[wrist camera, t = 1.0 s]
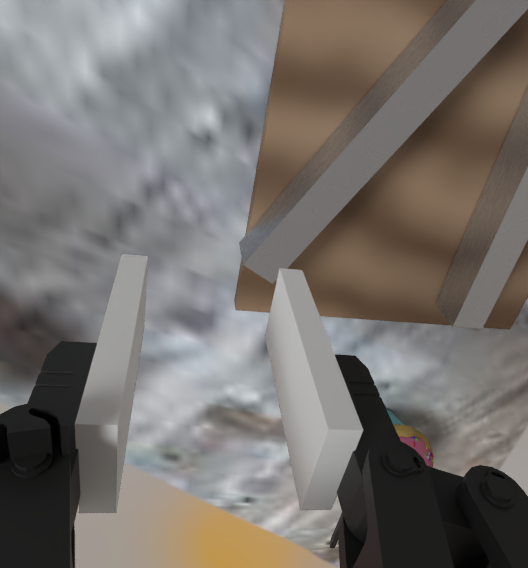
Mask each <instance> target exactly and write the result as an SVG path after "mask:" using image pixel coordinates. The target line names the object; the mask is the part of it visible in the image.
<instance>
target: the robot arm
mask: <svg viewBox="0 0 528 568" xmlns="http://www.w3.org/2000/svg"><path fill="white" fill-rule="evenodd" d="M147 262H148V256H139V255H128V254H122V256H121V259H120V263H119V266H118V270H117V274H116V277H115V281H114V284H113V288H112V292H111V295H110V299H109V302H108V306H107V310H106V313H105V317H104V320H103V324H102V328H101V331H100V335H99V338H98V342H97V343H85V342H66V341H62V342H60V343H59V344H58V345H57V346H56V347H55V348H54V349H53V350H52V351H51V352H50V353H48V354H47V357H46V359H45V362H44V364H43V366H42V369H41V373H40V374H39V376H38V379H37V381H36V386H35V387H34V389H33V391H32V394H31V396H30V399H29V401H28V403H27V404H24V405H20V406H16V407H13V408H11V409H9V410H8V411H6V412H4V413H2V414H0V568H75V530H74V521H75V517H76V512H77V508H78V503H79V513H116V511H117V504H118V498H119V491H120V484H121V478H122V471H123V465H124V458H125V451H126V445H127V438H128V431H129V425H130V418H131V412H132V405H133V398H134V392H135V385H136V379H137V372H138V365H139V359H140V352H141V345H142V339H143V332H144V321H145V301H146V282H147ZM265 338H266V342H267V347H268V352H269V357H270V362H271V367H272V372H273V377H274V382H275V387H276V392H277V397H278V402H279V407H280V412H281V417H282V422H283V427H284V432H285V436H286V441H287V446H288V451H289V456H290V461H291V466H292V471H293V476H294V481H295V486H296V491H297V496H298V501H299V506H300V510H331V509H332V507H333V504H334V502H335V499H336V497H337V495H338V498H339V502H340V505H341V509H342V514H341V516H340V519H339V521H338V523H337V526H336V528H335V530H334V533H333V535H332V537H331V542H330V548H335V546H336V543H337V541H338V542H339V559H340V568H528V496H527V495H526V494H525V492H524V491H523V490H522V488H521V487H520V486H519V485H518V484H517V483H516V482H515V481H514V480H513V479H512V478H510V477H509V476H508V475H506V474H505V473H503V472H502V471H499V470H497V469H495V468H493V467H488V466H482V465H479V466H475V467H471V469H470V470H469V471H468V472H467V473H466V475H465V476H464V477H461V476H458V475H454V474H451V473H448V472H444V471H441V470H438V469H435V468H432V467H430V466H427V465H426V463H425V461H424V459H423V458H422V456H421V455H420V454H419V453H418V452H417V451H416V450H415V449H414V448H412V447H410V446H409V445H407V444H406V443H404V442H401V440H400V438H399V436H398V434H397V432H396V429H395V427H394V425H393V423H392V421H391V418H390V416H389V414H388V412H387V410H386V407H385V405H384V403H383V401H382V399H381V397H379V395H380V394H379V392H378V390H377V388H376V386H374V381H373V379H372V377H371V375H370V372H369V370H368V368H367V367H366V366H365V365H364V364H363V363H362V362H361V361H360V360H359V359H358V358H357V357H356V356H351V355H334V352H333V349H332V347H331V344H330V341H329V339H328V336H327V334H326V331H325V328H324V326H323V323H322V320H321V318H320V315H319V313H318V310H317V307H316V305H315V302H314V300H313V297H312V294H311V292H310V289H309V286H308V284H307V281H306V279H305V276H304V273H303V271H302V270H296V269H284V268H279V273H278V278H277V282H276V287H275V291H274V296H273V301H272V305H271V310H270V314H269V319H268V324H267V328H266V333H265Z"/></svg>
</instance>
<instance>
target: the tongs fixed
mask: <svg viewBox="0 0 528 568" xmlns="http://www.w3.org/2000/svg"><path fill="white" fill-rule="evenodd" d="M527 240H528V88H527V91H526V93H525V95H524V98H523V100H522V102H521V105H520V107H519V109H518V111H517V114H516V116H515V118H514V121H513V123H512V125H511V128H510V130H509V132H508V135H507V137H506V139H505V142H504V144H503V146H502V149H501V151H500V153H499V156H498V158H497V160H496V163H495V165H494V167H493V169H492V172H491V174H490V176H489V179H488V181H487V183H486V186H485V188H484V190H483V193H482V195H481V197H480V200H479V202H478V204H477V207H476V209H475V211H474V214H473V216H472V218H471V221H470V223H469V225H468V228H467V230H466V232H465V234H464V237H463V239H462V241H461V244H460V246H459V248H458V251H457V253H456V255H455V258H454V260H453V262H452V265H451V267H450V269H449V272H448V274H447V276H446V279H445V281H444V283H443V286H442V288H441V290H440V293H439V295H438V297H437V299H436V302H435V304H436V306H437V307H438V308H439V310H440V311H441V312H442V313H443V315H444V316H445V317H446V319H447V320H448V321H449V323H450V324H451V325H452V327H462V328H476V329H482V328H483V326H484V325H485V323H486V321H487V319H488V317H489V315H490V313H491V311H492V309H493V307H494V305H495V303H496V301H497V299H498V297H499V295H500V293H501V291H502V289H503V287H504V285H505V283H506V281H507V279H508V278H509V276H510V274H511V272H512V270H513V268H514V266H515V264H516V262H517V260H518V258H519V256H520V254H521V252H522V250H523V248H524V246H525V244H526V242H527Z"/></svg>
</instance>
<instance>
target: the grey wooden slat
mask: <svg viewBox="0 0 528 568" xmlns="http://www.w3.org/2000/svg"><path fill="white" fill-rule="evenodd" d="M527 9H528V0H447V1H446V2H445V3H444V4H443V5H442V7H441V8H440V9H439V10H438V11H437V12H436V14H435V15H434V16H433V17H432V18H431V19H430V21H429V22H428V23H427V24H426V25H425V26H424V28H423V29H422V30H421V31H420V32H419V33H418V35H417V36H416V37H415V38H414V39H413V40H412V42H411V43H410V44H409V45H408V46H407V47H406V49H405V50H404V51H403V52H402V53H401V54H400V56H399V57H398V58H397V59H396V60H395V61H394V63H393V64H392V65H391V66H390V67H389V68H388V70H387V71H386V72H385V73H384V74H383V75H382V77H381V78H380V79H379V80H378V81H377V82H376V84H375V85H374V86H373V87H372V88H371V89H370V91H369V92H368V93H367V94H366V95H365V96H364V98H363V99H362V100H361V101H360V102H359V103H358V105H357V106H356V107H355V108H354V109H353V111H352V112H351V113H350V114H349V115H348V116H347V118H346V119H345V120H344V121H343V122H342V123H341V125H340V126H339V127H338V128H337V129H336V130H335V132H334V133H333V134H332V135H331V136H330V137H329V139H328V140H327V141H326V142H325V143H324V144H323V146H322V147H321V148H320V149H319V150H318V151H317V153H316V154H315V155H314V156H313V157H312V158H311V160H310V161H309V162H308V163H307V164H306V165H305V167H304V168H303V169H302V170H301V171H300V172H299V174H298V175H297V176H296V177H295V178H294V179H293V181H292V182H291V183H290V184H289V185H288V186H287V188H286V189H285V190H284V191H283V192H282V193H281V195H280V196H279V197H278V198H277V199H276V200H275V202H274V203H273V204H272V205H271V206H270V207H269V209H268V210H267V211H266V212H265V213H264V214H263V216H262V217H261V218H260V219H259V220H258V221H257V223H256V224H255V225H254V226H253V227H252V228H251V230H250V231H249V232H248V233H247V234H246V235H245V237H244V238H243V239H242V240H241V241H240V242H239V244H240V249H241V255H242V261H243V265H244V266H246V267H247V268H249V269H250V270H252V271H253V272H255V273H256V274H258V275H260V276H261V277H263V278H264V279H266V280H267V281H269V282H270V283H272V284H273V283H274V282H275V281H276V280H277V278H278V273H279V268H284V269H287V268H288V267H289V266H290V265H291V264H292V262H293V261H294V260H295V259H296V258H297V257H298V256H299V255H300V254H301V253H302V252H303V251H304V250H305V248H306V247H307V246H308V245H309V244H310V243H311V242H312V241H313V240H314V239H315V238H316V237H317V236H318V234H319V233H320V232H321V231H322V230H323V229H324V228H325V227H326V226H327V225H328V224H329V223H330V222H331V220H332V219H333V218H334V217H335V216H336V215H337V214H338V213H339V212H340V211H341V210H342V209H343V208H344V206H345V205H346V204H347V203H348V202H349V201H350V200H351V199H352V198H353V197H354V196H355V195H356V194H357V192H358V191H359V190H360V189H361V188H362V187H363V186H364V185H365V184H366V183H367V182H368V181H369V180H370V178H371V177H372V176H373V175H374V174H375V173H376V172H377V171H378V170H379V169H380V168H381V167H382V166H383V164H384V163H385V162H386V161H387V160H388V159H389V158H390V157H391V156H392V155H393V154H394V153H395V152H396V150H397V149H398V148H399V147H400V146H401V145H402V144H403V143H404V142H405V141H406V140H407V139H408V138H409V136H410V135H411V134H412V133H413V132H414V131H415V130H416V129H417V128H418V127H419V126H420V125H421V124H422V122H423V121H424V120H425V119H426V118H427V117H428V116H429V115H430V114H431V113H432V112H433V111H434V110H435V108H436V107H437V106H438V105H439V104H440V103H441V102H442V101H443V100H444V99H445V98H446V97H447V96H448V94H449V93H450V92H451V91H452V90H453V89H454V88H455V87H456V86H457V85H458V84H459V83H460V82H461V80H462V79H463V78H464V77H465V76H466V75H467V74H468V73H469V72H470V71H471V70H472V69H473V68H474V66H475V65H476V64H477V63H478V62H479V61H480V60H481V59H482V58H483V57H484V56H485V55H486V54H487V52H488V51H489V50H490V49H491V48H492V47H493V46H494V45H495V44H496V43H497V42H498V41H499V40H500V38H501V37H502V36H503V35H504V34H505V33H506V32H507V31H508V30H509V29H510V28H511V27H512V26H513V24H514V23H515V22H516V21H517V20H518V19H519V18H520V17H521V16H522V15H523V14H524V13H525V12H526V10H527Z"/></svg>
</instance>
